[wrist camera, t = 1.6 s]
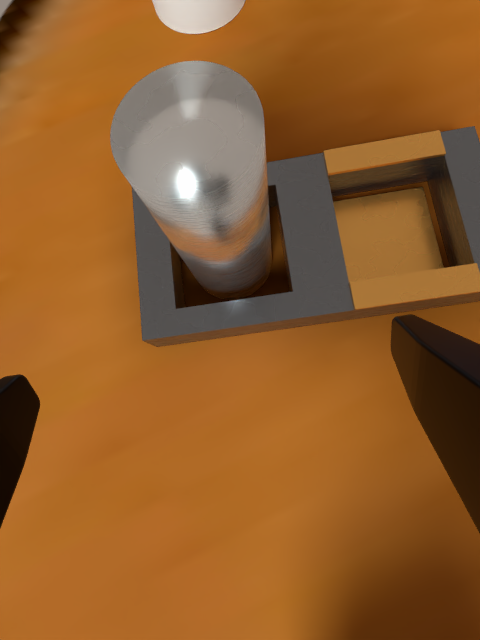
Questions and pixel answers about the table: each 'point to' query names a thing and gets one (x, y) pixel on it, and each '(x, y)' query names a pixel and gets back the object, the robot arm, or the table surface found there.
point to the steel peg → (201, 170)
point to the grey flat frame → (339, 241)
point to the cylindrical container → (197, 14)
